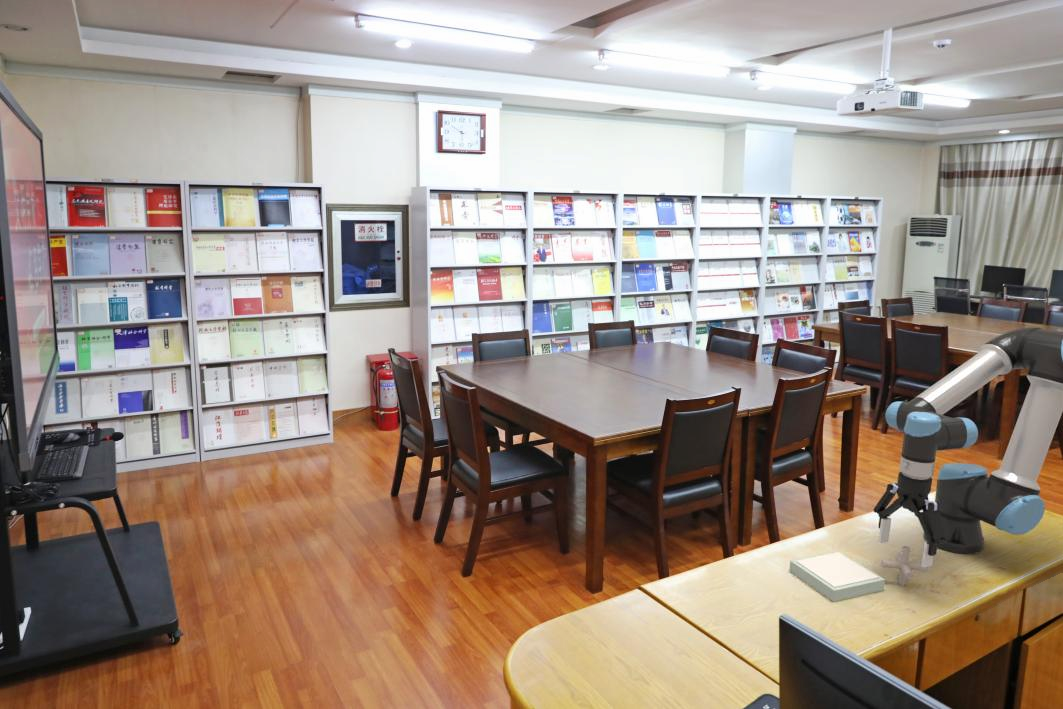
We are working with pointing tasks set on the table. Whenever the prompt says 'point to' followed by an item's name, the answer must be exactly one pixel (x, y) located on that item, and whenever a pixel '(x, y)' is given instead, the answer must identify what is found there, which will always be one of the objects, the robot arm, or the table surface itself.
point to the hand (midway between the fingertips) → (904, 553)
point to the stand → (836, 576)
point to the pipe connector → (903, 565)
